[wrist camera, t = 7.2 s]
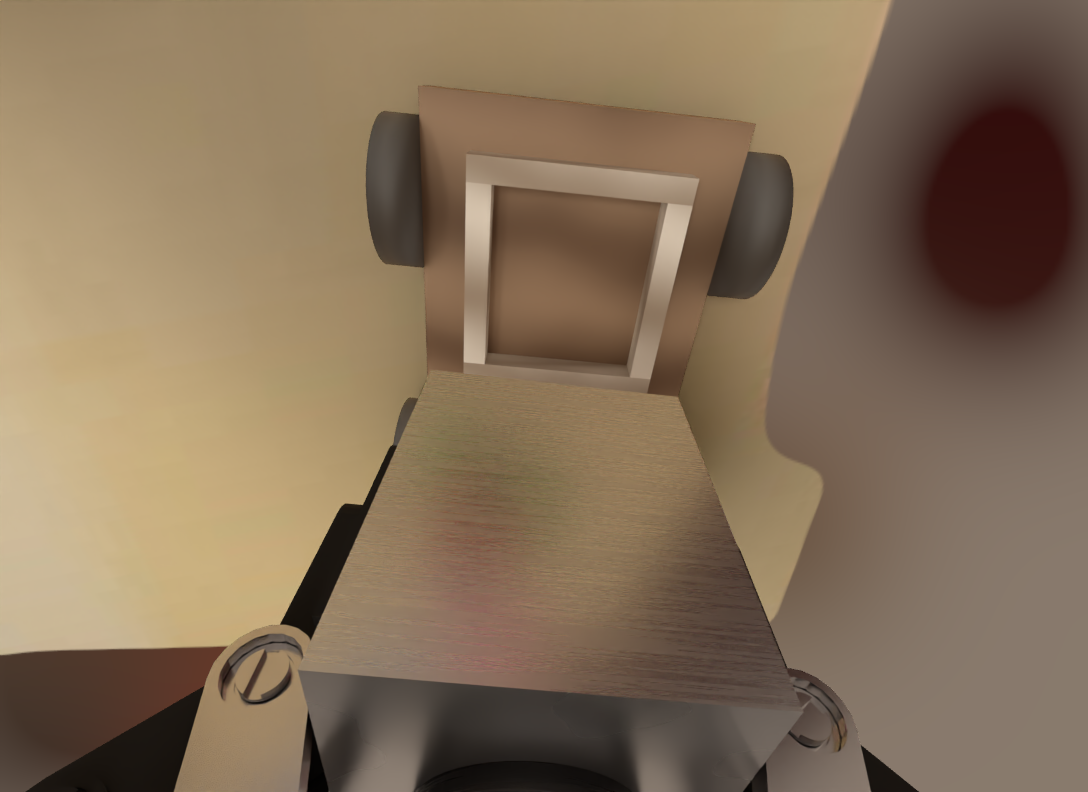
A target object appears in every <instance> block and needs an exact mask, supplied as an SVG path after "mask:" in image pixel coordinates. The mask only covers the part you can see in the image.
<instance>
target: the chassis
mask: <svg viewBox="0 0 1088 792" xmlns="http://www.w3.org/2000/svg"><path fill="white" fill-rule="evenodd" d="M418 92H419V115H415V114H406V113H397V112H388V111H383V112H381V113H380V114H379V115H378V116H377V118H376V120H375V122H374V125H373V128H372V131H371V135H370V140H369V146H368V153H367V165H366V198H367V211H368V219H369V225H370V231H371V235H372V239H373V243H374V246H375V249H376V251H377V254H378V256H379V257H380V259H381V260H382V261H383V262H384V263H385V264H392V265H402V266H412V267H422V268H423V267H424V279H425V310H426V342H427V373H428V376H429V374H430V371H431V370H438V371H447V372H457V373H466V374H475V375H484V376H493V377H502V378H511V379H520V380H529V381H538V382H547V383H556V384H565V385H574V386H583V387H592V388H602V389H611V390H620V391H629V392H638V393H647V394H656V395H665V396H674V397H678V395H679V391H680V388H681V384H682V381H683V377H684V374H685V370H686V367H687V363H688V360H689V356H690V353H691V349H692V346H693V342H694V339H695V335H696V332H697V328H698V325H699V321H700V318H701V314H702V311H703V307H704V304H705V300H706V297H707V295H709V296H717V297H728V298H738V299H748V298H750V297H753V296H754V295H755V294H757V293H758V292H759V291H760V290H761V289H762V287H763V286H764V285H765V284H766V282H767V281H768V279H769V278H770V276H771V274H772V272H773V271H774V269H775V267H776V264H777V262H778V260H779V258H780V255H781V253H782V250H783V247H784V244H785V241H786V237H787V233H788V230H789V225H790V220H791V214H792V207H793V179H792V173H791V169H790V167H789V164H788V162H787V161H786V159H785V158H784V157H782V156H780V155H775V154H766V153H757V152H748V150H749V146H750V143H751V139H752V136H753V132H754V129H755V125H756V124H753V123H748V122H743V121H736V120H727V119H718V118H710V117H701V116H692V115H683V114H674V113H666V112H657V111H648V110H639V109H630V108H622V107H613V106H604V105H595V104H586V103H578V102H569V101H560V100H551V99H543V98H534V97H525V96H516V95H507V94H499V93H490V92H481V91H472V90H463V89H455V88H446V87H437V86H418ZM417 401H418V398H408V399H407V400H406V402H405V403H404V405H403V408H402V410H401V413H400V416H399V419H398V423H397V427H396V432H395V437H394V444H393V445H396V446H398V443H399V441H400V439H401V437H402V434H403V432H404V430H405V428H406V425H407V423H408V421H409V419H410V416H411V414H412V412H413V410H414V407H415V405H416V403H417ZM690 429H691V428H690ZM691 431H692V430H691ZM692 434H693V433H692Z"/></svg>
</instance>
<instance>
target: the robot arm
mask: <svg viewBox="0 0 1088 792" xmlns="http://www.w3.org/2000/svg"><path fill="white" fill-rule="evenodd" d="M396 448H397V446H396V445H392V446H391V447H390V448H389V450H388V452H387V454H386V456H385V459H384V461H383V463H382V465H381V467H380V469H379V472H378V474H377V476H376V478H375V480H374V482H373V485H372V487H371V489H370V491H369V493H368V495H367V498H366V500H365V502H364V504H363V505H356V504H344V505H343V506H342V507H341V508H340V510H339V511H338V513H337V515H336V517H335V519H334V521H333V523H332V525H331V526H330V528H329V530H328V532H327V534H326V536H325V538H324V540H323V542H322V544H321V546H320V548H319V550H318V552H317V554H316V556H315V558H314V559H313V561H312V563H311V565H310V567H309V569H308V571H307V573H306V575H305V577H304V579H303V581H302V583H301V585H300V587H299V589H298V591H297V593H296V594H295V596H294V598H293V600H292V602H291V604H290V606H289V608H288V610H287V612H286V614H285V616H284V618H283V620H282V622H281V624H280V625H269V626H266V627H262V628H259V629H255V630H253V631H251V632H249V633H247V634H245V635H243V636H242V637H240V638H238V639H237V640H236V641H235V642H233V643H232V644H231V645H230V646H228V647H227V648H226V649H225V650H224V651H223V653H222V654H221V655H220V656H219V657H218V659H217V660H216V661H215V662H214V664H213V666H212V668H211V670H210V673H209V675H208V677H207V680H206V683H205V686H204V687H202V688H200V689H198V690H197V691H195V692H193V693H191V694H190V695H188V696H186V697H184V698H183V699H181V700H179V701H178V702H176V703H174V704H172V705H171V706H169V707H167V708H166V709H164V710H162V711H160V712H159V713H157V714H155V715H154V716H152V717H150V718H148V719H147V720H145V721H143V722H141V723H140V724H138V725H137V726H135V727H133V728H131V729H129V730H128V731H126V732H124V733H122V734H121V735H119V736H117V737H116V738H114V739H112V740H110V741H109V742H107V743H105V744H103V745H102V746H100V747H98V748H96V749H95V750H93V751H91V752H90V753H88V754H86V755H84V756H83V757H81V758H79V759H78V760H76V761H74V762H72V763H71V764H69V765H67V766H65V767H64V768H62V769H60V770H59V771H57V772H55V773H54V774H52V775H50V776H48V777H46V778H45V779H44V780H42V781H41V782H39V783H38V784H36V785H35V786H33V787H32V788H30V789H29V790H28V791H26V792H330V791H329V787H328V784H327V780H326V776H325V772H324V768H323V765H322V761H321V757H320V753H319V749H318V745H317V742H316V738H315V734H314V730H313V726H312V723H311V719H310V715H309V711H308V707H307V703H306V700H305V696H304V692H303V688H302V684H301V681H300V677H299V673H298V668H299V666H300V664H301V662H302V659H303V657H304V655H305V653H306V650H307V648H308V646H309V644H310V641H311V639H312V637H313V635H314V632H315V630H316V628H317V626H318V623H319V621H320V619H321V617H322V614H323V612H324V610H325V608H326V605H327V603H328V601H329V599H330V596H331V594H332V592H333V590H334V587H335V585H336V583H337V581H338V578H339V576H340V574H341V572H342V569H343V567H344V565H345V563H346V560H347V558H348V556H349V554H350V551H351V549H352V547H353V545H354V542H355V540H356V538H357V536H358V533H359V531H360V529H361V527H362V524H363V522H364V520H365V518H366V515H367V513H368V511H369V509H370V506H371V504H372V502H373V500H374V497H375V495H376V493H377V491H378V488H379V486H380V484H381V482H382V479H383V477H384V475H385V473H386V470H387V468H388V466H389V464H390V461H391V459H392V457H393V455H394V452H395V450H396ZM738 549H739V548H738ZM739 551H740V549H739ZM740 554H741V551H740ZM741 556H742V554H741ZM742 559H743V556H742ZM743 561H744V559H743ZM744 564H745V561H744ZM745 567H746V569H747V566H746V564H745ZM747 572H748V574H749V571H748V569H747ZM749 577H750V579H751V576H750V574H749ZM751 582H752V584H753V581H752V579H751ZM753 587H754V589H755V586H754V584H753ZM755 592H756V594H757V591H756V589H755ZM757 597H758V599H759V596H758V594H757ZM759 602H760V604H761V601H760V599H759ZM761 607H762V609H763V606H762V604H761ZM763 612H764V614H765V611H764V609H763ZM765 617H766V619H767V616H766V614H765ZM767 622H768V624H769V621H768V619H767ZM769 627H770V629H771V626H770V624H769ZM771 632H772V634H773V631H772V629H771ZM773 637H774V639H775V636H774V634H773ZM775 642H776V644H777V641H776V639H775ZM777 647H778V649H779V646H778V644H777ZM779 652H780V654H781V651H780V649H779ZM781 657H782V659H783V656H782V654H781ZM783 662H784V664H785V661H784V659H783ZM785 667H786V669H787V672H788V674H789V677H790V679H791V682H792V684H793V687H794V689H795V692H796V694H797V697H798V699H799V702H800V704H801V707H802V709H803V713H802V715H801V716H800V717H799V719H798V720H797V721H796V723H795V724H794V725H793V726H792V728H791V729H790V730H789V732H788V733H787V734H786V736H785V737H784V738H783V740H782V741H781V742H780V743H779V745H778V746H777V747H776V749H775V750H774V751H773V753H772V754H771V755H770V757H769V758H768V759H767V760H766V762H765V763H764V764H763V766H762V767H761V768H760V770H759V771H758V772H757V774H756V775H755V776H754V777H753V779H752V780H751V781H750V783H749V784H748V785H747V787H746V788H745V789H744V791H743V792H918V791H917V790H916V789H915V788H913V787H912V786H911V785H910V784H908V783H907V782H906V781H905V780H903V779H902V778H901V777H900V776H899V775H897V774H896V773H895V772H894V771H892V770H891V769H890V768H889V767H887V766H886V765H885V764H884V763H883V762H881V761H880V760H879V759H878V758H876V757H875V756H874V755H872V754H871V753H870V752H869V751H868V750H866V749H865V748H864V747H862V746H861V744H860V740H859V735H858V731H857V728H856V726H855V723H854V720H853V717H852V715H851V713H850V712H849V710H848V709H847V707H846V705H845V704H844V702H843V701H842V700H841V699H840V697H839V696H838V695H837V694H836V693H835V692H834V691H833V690H832V689H831V688H830V687H829V686H827V685H826V684H825V683H823V682H822V681H821V680H819V679H818V678H817V677H815V676H812V675H810V674H808V673H806V672H803V671H801V670H796V669H792V668H787V666H786V664H785Z"/></svg>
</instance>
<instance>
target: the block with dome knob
mask: <svg viewBox="0 0 1088 792" xmlns="http://www.w3.org/2000/svg"><path fill="white" fill-rule="evenodd" d="M298 673H299V677H300V681H301V684H302V688H303V692H304V696H305V700H306V703H307V707H308V711H309V715H310V719H311V723H312V726H313V730H314V734H315V738H316V742H317V745H318V749H319V753H320V757H321V761H322V765H323V768H324V772H325V776H326V780H327V784H328V787H329V791H330V792H743V791H744V789H745V788H746V787H747V785H748V784H749V783H750V781H751V780H752V779H753V777H754V776H755V775H756V774H757V772H758V771H759V770H760V768H761V767H762V766H763V764H764V763H765V762H766V760H767V759H768V758H769V757H770V755H771V754H772V753H773V751H774V750H775V749H776V747H777V746H778V745H779V743H780V742H781V741H782V740H783V738H784V737H785V736H786V734H787V733H788V732H789V730H790V729H791V728H792V726H793V725H794V724H795V723H796V721H797V720H798V719H799V717H800V716H801V715H802V713H803V709H802V707H801V704H800V702H799V699H798V697H797V694H796V692H795V689H794V687H793V684H792V682H791V679H790V677H789V674H788V672H787V669H786V667H785V664H784V662H783V659H782V657H781V654H780V652H779V649H778V647H777V644H776V642H775V639H774V637H773V634H772V632H771V629H770V627H769V624H768V622H767V619H766V617H765V614H764V612H763V609H762V607H761V604H760V602H759V599H758V597H757V594H756V592H755V589H754V587H753V584H752V582H751V579H750V577H749V574H748V572H747V569H746V567H745V564H744V561H743V559H742V556H741V554H740V551H739V549H738V546H737V544H736V541H735V539H734V536H733V534H732V531H731V529H730V526H729V524H728V521H727V519H726V516H725V514H724V511H723V509H722V506H721V504H720V501H719V499H718V496H717V494H716V491H715V489H714V486H713V484H712V481H711V479H710V476H709V474H708V471H707V469H706V466H705V464H704V461H703V459H702V456H701V454H700V451H699V449H698V446H697V444H696V441H695V439H694V436H693V434H692V431H691V429H690V426H689V424H688V421H687V419H686V416H685V413H684V411H683V408H682V406H681V403H680V401H679V398H678V397H674V396H665V395H656V394H647V393H638V392H629V391H620V390H611V389H602V388H592V387H583V386H574V385H565V384H556V383H547V382H538V381H529V380H520V379H511V378H502V377H493V376H484V375H475V374H466V373H457V372H447V371H438V370H431V371H430V374H429V376H428V378H427V380H426V383H425V385H424V387H423V389H422V392H421V394H420V396H419V398H418V401H417V403H416V405H415V407H414V410H413V412H412V414H411V416H410V419H409V421H408V423H407V425H406V428H405V430H404V432H403V434H402V437H401V439H400V441H399V443H398V446H397V448H396V450H395V452H394V455H393V457H392V459H391V461H390V464H389V466H388V468H387V470H386V473H385V475H384V477H383V479H382V482H381V484H380V486H379V488H378V491H377V493H376V495H375V497H374V500H373V502H372V504H371V506H370V509H369V511H368V513H367V515H366V518H365V520H364V522H363V524H362V527H361V529H360V531H359V533H358V536H357V538H356V540H355V542H354V545H353V547H352V549H351V551H350V554H349V556H348V558H347V560H346V563H345V565H344V567H343V569H342V572H341V574H340V576H339V578H338V581H337V583H336V585H335V587H334V590H333V592H332V594H331V596H330V599H329V601H328V603H327V605H326V608H325V610H324V612H323V614H322V617H321V619H320V621H319V623H318V626H317V628H316V630H315V632H314V635H313V637H312V639H311V641H310V644H309V646H308V648H307V650H306V653H305V655H304V657H303V659H302V662H301V664H300V666H299V668H298Z"/></svg>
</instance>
